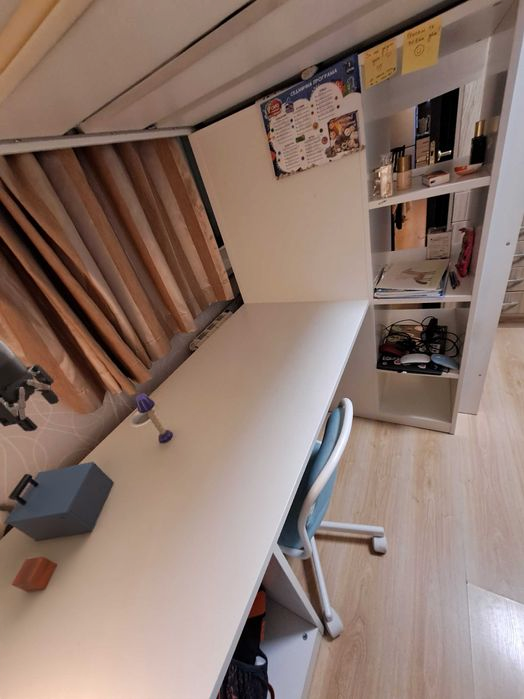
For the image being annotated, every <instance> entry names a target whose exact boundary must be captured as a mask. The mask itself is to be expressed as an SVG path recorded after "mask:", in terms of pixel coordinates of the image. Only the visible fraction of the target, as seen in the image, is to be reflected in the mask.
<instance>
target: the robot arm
mask: <svg viewBox="0 0 524 699" xmlns="http://www.w3.org/2000/svg"><path fill="white" fill-rule="evenodd" d="M34 379H35V380H34ZM36 380H37V381H36ZM54 382H55V380H54V379H53V378H52V377H51V376H50V374H49V373H48V372H47V371H46V370H45V369H44V368H43V367H42V366H41V365H40V364H37V363H36V364H33V365H29V366H26V364H25V363H23V361H22V360H21V359H20V358H19V356H17V355H16V353H15V352H14V351H13V350H12V349H11V347H9V345H8V344H7V343H6V342H4V340H2V339H1V338H0V425H1V426H3V427H9V426H14V425H18V427H19V428H21V430H23V431H24V432H33V431H34V432H35V431H37V429H38V425H37V424H36V423H35V422H34V421H33V420H32V419H31V418H29V416H26V410H25V408H26V409H27V403H26V402H27V401H29V399H30V397H31V396H33V395H34V394H35V393H36V392H38V393H40V396H42V397H43V398H44V399H45V400H46V401H47V402H48V404H50V405H55V404H58V403H59V402H60V400H59V397H58V395H57V394H56V392H54V391H53V390H52V384H54ZM15 404H17V405H16V406H15Z"/></svg>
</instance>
